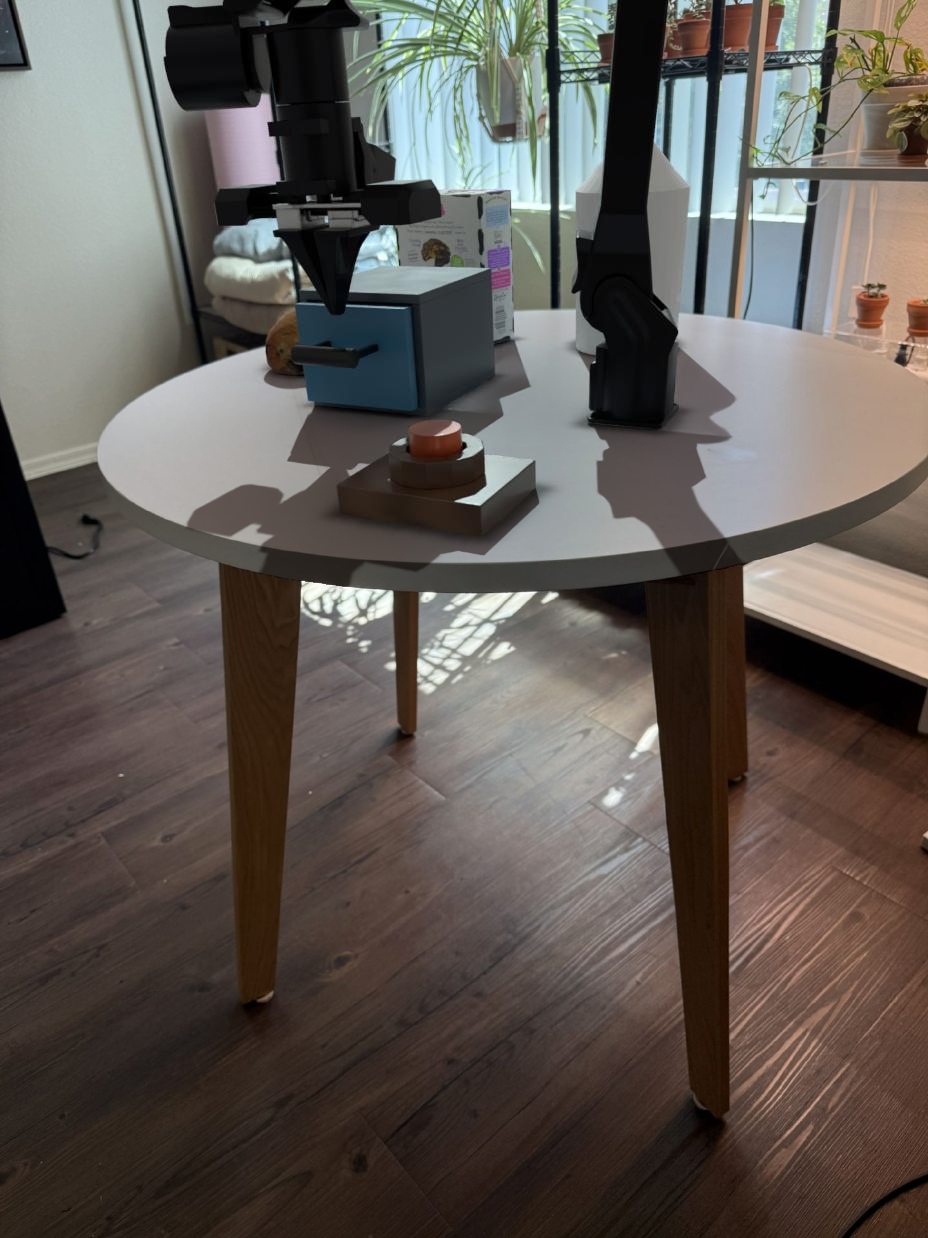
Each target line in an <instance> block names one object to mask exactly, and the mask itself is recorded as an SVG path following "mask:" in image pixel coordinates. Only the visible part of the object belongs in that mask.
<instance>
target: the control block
mask: <svg viewBox="0 0 928 1238" xmlns="http://www.w3.org/2000/svg"><path fill="white" fill-rule="evenodd" d="M536 465H537V464H536V460H535V459H529V458H520V457H513V456H504V455H497V454H487V453H485V446H484V441H483V440H482V439H481V438H479V437H476V436H474V435H471V434H469V433H462V451H461V452H460V453H457V454H453V455H450V456H446V457H433V458H428V457H419V456H413V455H411V454H410V445H409V436H407V437H403V438H400V439H398V440H397V441H395V442H393V443H392V444H390V445H389V446H388V452H387V453H385V454H384V455H383V456H381V457H379V458H377V459H376V460H374V461H372V462H371V463H369V464H368V465H366V466H364V467H363V468H361V469H359V470H358V471H356V472H354V473H353V474H352V475H350V476H348V477H347V478H345V479H343V480H342V481H340V482H337V483H336V486H335V487H336V494H337V502H338V508H339V510H338V511H339V514H341V515H344V516H345V515H346V516H351V517H357V518H364V519H371V520H376V521H383V522H388V523H395V524H400V525H407V526H413V527H420V528H425V529H432V530H439V531H445V532H451V533H455V534H456V533H457V534H463V535H468V536H475V537H480V538H481V537H484V536H485V535H486V534H487V533H489V531H490V530H491V529H493V528H494V527H495V526H496V525H497V524H498V523H499V522H501V521H502V520H503V519H504V518H505V517H506V516H507V515H508V514H509V513H511V511H512V510H514V509H515V508H516V507H517V506H518V505H520V503H522V502H523V501H524V500H525V499H526V498H527V497H528V496H530V495H531V493H532V492H534V491H535V490H536V488H537V481H536V480H537V477H536V476H537V473H536V471H537V470H536Z"/></svg>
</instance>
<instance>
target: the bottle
mask: <svg viewBox="0 0 928 1238" xmlns="http://www.w3.org/2000/svg"><path fill="white" fill-rule="evenodd" d="M659 91H661V89H660V88H659ZM659 104H660V97H659V98H658V105H659ZM603 159H604V156H603V157H602V158H601V160H600V161H599V163H598V164H597V165H596V167H595V168H594V169H593V170H592V171H591V173H590V174H589V175H588V176H587V177H586V178H585V179H584V181H583V182H582V183H581V184H580V185H579V186H578V187H577V188H576V190H575V231H576V230H577V229H582V230H586V231H591V232H592V231H593V227H594V223H595V219H596V216H597V212H598V208H599V204H600V196H601V184H602V172H603ZM690 193H691V186H690V184H689V183H688V182H687V181H686V180H685V179H684V178H683V176H682V175H681V174H680V173H679V172H678V170H676V169H675V167H674V166H673V165H672V163H671V162H670V161H669V159H668V158H667V156H666V155H665V154H664V153H663V151H662V150H661V148H660V147H659V146H658V144H657V143H656V142H655V141H654V145H653V155H652V164H651V174H650V183H649V193H648V202H647V214H648V227H649V238H650V250H651V266H652V284H653V293H654V294H655V295H656V296H657V297H658V298H659V299H660V300H661V301H662V302H663V303H664V304H665V305H666V306H667V307H668V308H669V310H670V312H671V315H672V317H673V319H674V322H675V324H676V326H677V328H679V318H680V307H681V296H682V284H683V272H684V263H685V261H684V260H685V249H686V239H687V227H688V216H689V203H690ZM577 263H578V262H577V251H576V250H575V270H576V269H577ZM677 340H678V337H677V338H676V340H675V342H678V341H677ZM603 341H605V338H604V335H603V333H601V332H600V331H598V330H596V329H594V328H593V327H592V326H591V325H590V324H589V323H588V322H587V321H586V319H585V318H584V317H583V314H582V312H581V309H580V291H579V292H577V293H575V348H576V350H577V351H579V352H581V353H584V354H587V355H592V356H596V346H597V345H599V344H600V343H602V342H603Z"/></svg>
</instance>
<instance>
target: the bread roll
mask: <svg viewBox="0 0 928 1238" xmlns="http://www.w3.org/2000/svg"><path fill="white" fill-rule="evenodd" d="M264 345H265V357H266V363H267V365H268V366H269V368H270V369H271V370H272V371H273V372H274V373H275V374H279V375H291V376H302V375H303V376H304V369H303V365H301V364H295V363H294V362H293V361H292V359H291V350H292V348H293V346H295V345H300V340H299V332H298V325H297V318H296V311H295V309H292V310H290V311H288V312H287V313H285V314H284V315H282V316H281V317H280V318H279V319H278V321H276V323H275V324H274V325H273V326H272V327H271V328H270V330H269V331H268V333H267V336H266V338H265V344H264Z"/></svg>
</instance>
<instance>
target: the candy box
mask: <svg viewBox="0 0 928 1238" xmlns="http://www.w3.org/2000/svg"><path fill="white" fill-rule="evenodd" d="M438 191H439V193H440V197H441V214H442V217H440V218H436V219H431V220H427V221H423V222H419V223H415V224H410V225H394V228H395V238H396V249H397V250H396V251H397V261H398V266H417V267H463V268H491V271H492V303H493V335H494V345H495V344H500V343H502V342H506V341H509V340H513V339H515V310H514V308H515V307H514V272H513V271H514V270H513V269H514V268H513V265H514V264H513V263H514V262H513V227H512V226H513V225H512V224H513V222H512V221H513V220H512V190H511V189H488V188H487V189H486V188H485V189H479V188H477V189H476V188H475V189H474V188H473V189H471V188H468V189H467V188H466V189H465V188H464V189H463V188H462V189H461V188H460V189H459V188H458V189H457V188H456V189H455V188H454V189H453V188H451V189H450V188H448V189H447V188H446V189H445V188H444V189H438Z"/></svg>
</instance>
